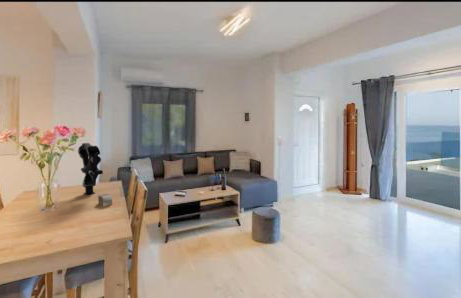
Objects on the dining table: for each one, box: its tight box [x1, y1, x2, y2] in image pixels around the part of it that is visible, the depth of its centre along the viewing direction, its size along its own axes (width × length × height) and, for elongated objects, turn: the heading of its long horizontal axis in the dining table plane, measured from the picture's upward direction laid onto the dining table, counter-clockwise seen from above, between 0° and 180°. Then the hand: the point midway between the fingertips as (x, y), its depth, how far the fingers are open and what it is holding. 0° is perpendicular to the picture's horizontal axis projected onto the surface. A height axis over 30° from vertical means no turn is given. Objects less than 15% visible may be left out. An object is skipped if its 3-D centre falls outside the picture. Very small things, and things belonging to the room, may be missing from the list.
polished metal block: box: [97, 193, 113, 207], centre depth 188 cm, size 6×6×8 cm
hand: (94, 182), depth 202 cm, fingers closed
